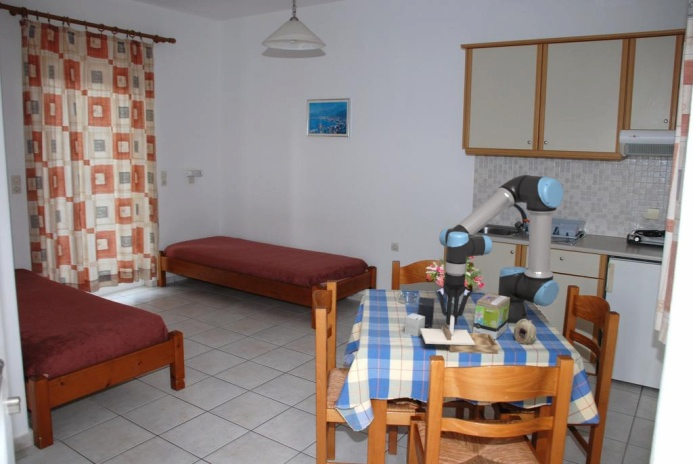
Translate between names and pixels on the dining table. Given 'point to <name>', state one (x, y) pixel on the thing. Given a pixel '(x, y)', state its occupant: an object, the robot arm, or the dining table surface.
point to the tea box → (491, 315)
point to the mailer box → (477, 345)
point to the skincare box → (414, 324)
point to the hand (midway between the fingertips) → (450, 332)
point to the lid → (446, 336)
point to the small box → (426, 311)
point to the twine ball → (524, 331)
